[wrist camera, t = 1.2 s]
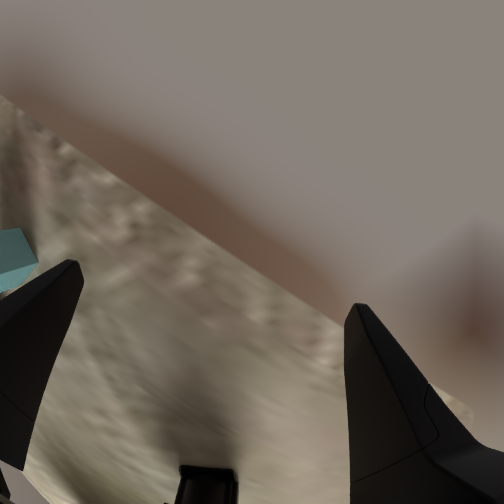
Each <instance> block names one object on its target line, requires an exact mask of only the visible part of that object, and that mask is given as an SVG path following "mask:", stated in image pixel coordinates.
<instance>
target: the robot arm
mask: <svg viewBox="0 0 504 504" xmlns="http://www.w3.org/2000/svg"><path fill="white" fill-rule="evenodd" d="M83 285H84V278H83V275H82V271H81V268H80V265H79V263H78V261H76V260H71V259H67V260H65V261H63V262H61V263H60V264H58V265H56V266H55V267H53V268H51V269H50V270H48V271H46V272H45V273H43V274H41V275H40V276H38V277H36V278H35V279H33V280H31V281H30V282H28V283H27V284H25V285H23V286H22V287H20V288H19V289H17V290H16V291H14V292H13V293H11V294H9V295H8V296H6V297H5V298H3V299H2V300H0V460H2V461H3V462H5V463H7V464H9V465H11V466H13V467H15V468H17V469H19V470H21V471H23V469H24V465H25V461H26V456H27V452H28V447H29V443H30V439H31V435H32V431H33V428H34V424H35V423H34V422H35V420H36V417H37V413H38V410H39V407H40V403H41V400H42V397H43V394H44V391H45V388H46V385H47V382H48V379H49V376H50V374H51V371H52V368H53V365H54V363H55V360H56V358H57V355H58V352H59V350H60V347H61V345H62V342H63V340H64V338H65V335H66V333H67V330H68V328H69V326H70V323H71V320H72V318H73V315H74V311H75V308H76V305H77V303H78V300H79V297H80V294H81V291H82V288H83ZM344 376H345V387H346V400H347V414H348V430H349V453H350V504H504V452H501V451H498V450H495V449H491V448H488V447H486V446H484V445H482V444H481V443H479V442H478V441H477V440H476V439H475V438H474V437H473V436H472V435H471V434H470V432H469V431H468V430H467V429H466V428H465V427H464V425H463V424H462V423H461V422H460V421H459V420H458V418H457V417H456V416H455V415H454V414H453V413H452V411H451V410H450V409H449V408H448V407H447V405H446V404H445V403H444V402H443V401H442V399H441V398H440V397H439V395H438V394H437V393H436V391H435V390H434V389H433V387H432V386H431V385H430V384H428V381H427V379H426V378H425V377H424V376H423V374H422V373H421V372H420V371H419V369H418V368H417V366H416V365H415V364H414V363H413V361H412V360H411V358H410V357H409V356H408V355H407V353H406V352H405V351H404V349H403V348H402V347H401V346H400V344H399V343H398V342H397V341H396V339H395V338H394V337H393V336H392V334H391V333H390V332H389V331H388V329H387V328H386V327H385V326H384V324H383V323H382V322H381V321H380V319H379V318H378V317H377V316H376V315H375V313H374V312H373V311H372V310H371V308H370V307H369V306H368V305H367V304H362V303H355V304H353V306H352V308H351V310H350V312H349V314H348V316H347V318H346V320H345V324H344ZM179 472H180V476H181V480H180V484H179V488H178V491H177V495H176V499H175V503H174V504H238V498H239V486H238V482H237V481H235V478H234V471H233V470H230V469H214V468H202V467H192V466H180V467H179ZM10 495H11V494H10V492H9V489H8V487H7V484H6V482H5V479H4V477H3V474H2V471H1V469H0V504H14V503H13V502H11V501H10V500H9V499H10ZM164 504H168V503H164Z"/></svg>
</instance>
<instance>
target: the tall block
mask: <svg viewBox="0 0 504 504" xmlns="http://www.w3.org/2000/svg"><path fill="white" fill-rule="evenodd" d="M37 264H38V261H37V259H36V257H35V255H34V253H33V252H32V250H31V248H30V246H29V244H28V242H27V240H26V238H25V236H24V234H23V232H22V230H21V228H13V229H6V230H0V293H1V292H4V291H6V290H9V289H11V288H14V287H17V286H19V285H20V284H21V283H22V282H23V281H24V279H25V278H26V277H27V276H28V275H29V273H30V272H31V271H32V270H33V269H34V267H35V266H36V265H37Z"/></svg>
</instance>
